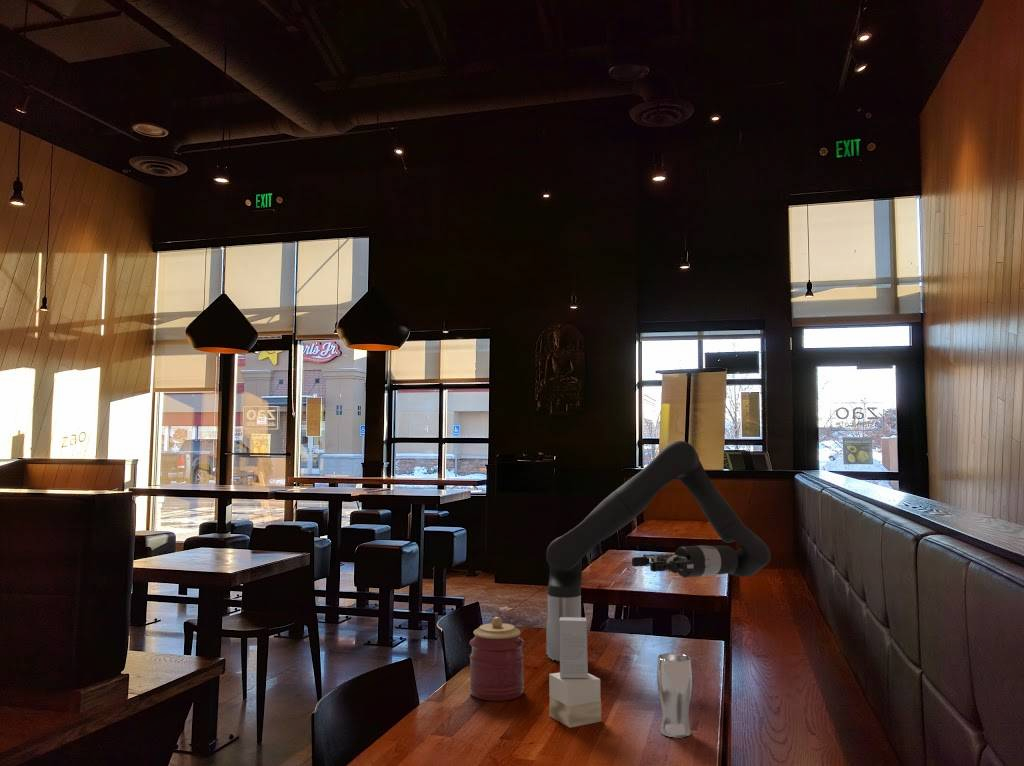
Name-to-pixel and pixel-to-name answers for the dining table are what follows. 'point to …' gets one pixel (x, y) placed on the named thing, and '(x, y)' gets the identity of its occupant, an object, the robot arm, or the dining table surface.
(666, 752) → the dining table surface
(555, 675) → the tower top block
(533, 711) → the dining table surface
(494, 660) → the canister
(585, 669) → the skincare box
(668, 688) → the beer glass
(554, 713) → the tower bottom block
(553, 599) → the robot arm
